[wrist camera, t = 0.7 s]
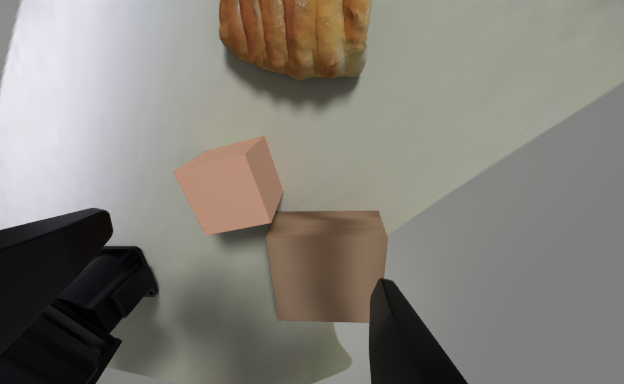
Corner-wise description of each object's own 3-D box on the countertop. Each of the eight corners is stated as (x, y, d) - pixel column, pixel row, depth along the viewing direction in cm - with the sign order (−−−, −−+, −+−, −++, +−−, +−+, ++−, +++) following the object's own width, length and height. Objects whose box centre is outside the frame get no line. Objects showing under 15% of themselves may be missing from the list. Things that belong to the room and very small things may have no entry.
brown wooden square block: (285, 286, 26) (278, 320, 23) (276, 211, 22) (265, 238, 19) (372, 287, 26) (379, 323, 22) (378, 211, 22) (387, 238, 18)
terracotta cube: (230, 202, 23) (205, 235, 18) (207, 150, 21) (172, 171, 16) (283, 191, 22) (270, 222, 17) (264, 135, 20) (244, 154, 15)
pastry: (236, 82, 18) (214, 85, 15) (217, -37, 15) (184, -68, 12) (366, 76, 18) (375, 77, 14) (372, -51, 15) (384, -89, 11)
